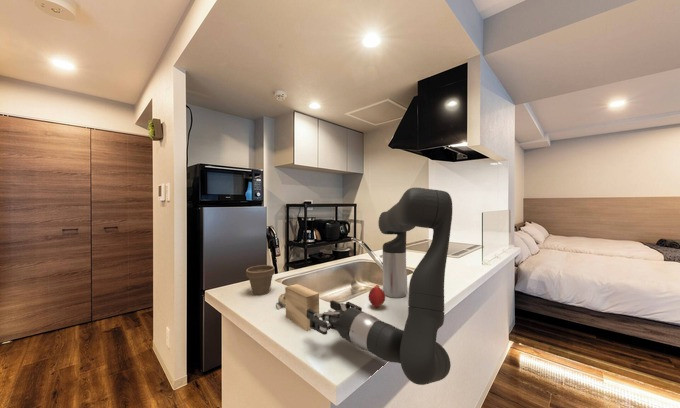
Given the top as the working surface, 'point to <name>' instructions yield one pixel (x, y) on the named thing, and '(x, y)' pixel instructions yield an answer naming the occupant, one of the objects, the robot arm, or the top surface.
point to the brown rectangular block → (300, 304)
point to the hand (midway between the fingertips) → (319, 308)
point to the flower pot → (260, 278)
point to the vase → (281, 301)
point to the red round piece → (376, 296)
